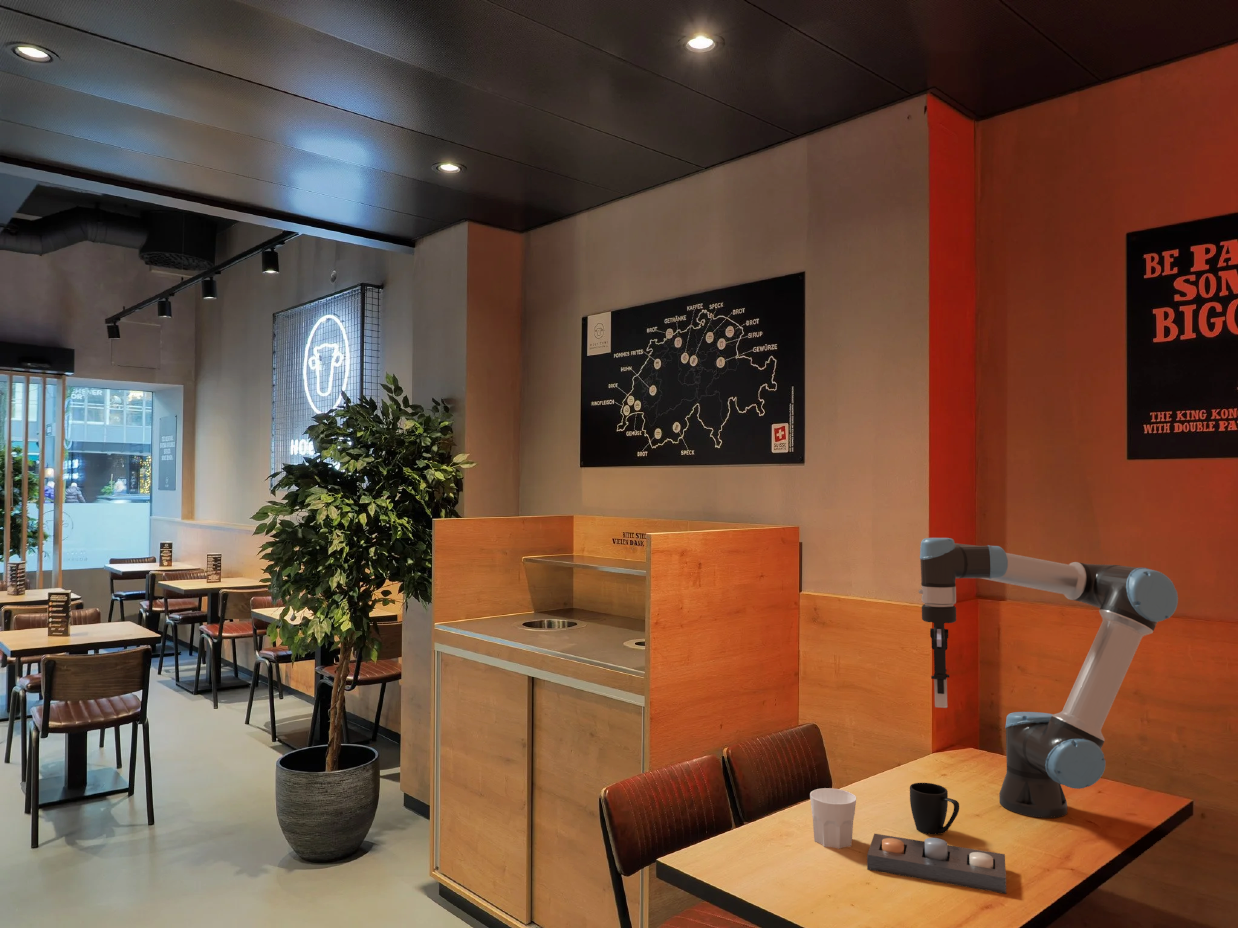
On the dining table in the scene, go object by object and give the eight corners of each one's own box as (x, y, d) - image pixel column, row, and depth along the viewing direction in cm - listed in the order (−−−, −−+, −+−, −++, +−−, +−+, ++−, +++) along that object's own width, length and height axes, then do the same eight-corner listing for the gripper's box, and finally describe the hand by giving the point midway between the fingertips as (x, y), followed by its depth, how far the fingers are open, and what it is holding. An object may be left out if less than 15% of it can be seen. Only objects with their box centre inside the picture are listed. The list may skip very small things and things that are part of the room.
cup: (857, 835, 190) (857, 791, 191) (855, 852, 181) (854, 806, 181) (812, 829, 194) (812, 786, 194) (807, 846, 184) (807, 800, 185)
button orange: (904, 857, 178) (904, 839, 178) (903, 865, 174) (902, 847, 174) (883, 853, 179) (883, 836, 180) (880, 861, 175) (880, 844, 176)
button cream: (993, 872, 171) (993, 854, 171) (993, 881, 167) (993, 862, 167) (969, 868, 173) (969, 850, 173) (969, 876, 169) (969, 858, 169)
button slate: (948, 857, 174) (947, 839, 174) (947, 865, 170) (946, 847, 170) (925, 853, 176) (925, 836, 176) (924, 861, 172) (923, 844, 172)
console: (1005, 868, 173) (1004, 853, 173) (1006, 893, 162) (1006, 877, 163) (874, 847, 184) (874, 833, 184) (867, 869, 173) (867, 854, 173)
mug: (944, 845, 185) (943, 802, 185) (902, 826, 195) (902, 785, 196) (969, 838, 189) (969, 795, 189) (927, 820, 199) (926, 780, 200)
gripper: (922, 600, 203) (924, 698, 202) (920, 607, 191) (922, 712, 190) (955, 601, 200) (958, 701, 199) (956, 608, 188) (958, 714, 187)
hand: (941, 706), depth 194 cm, fingers closed
